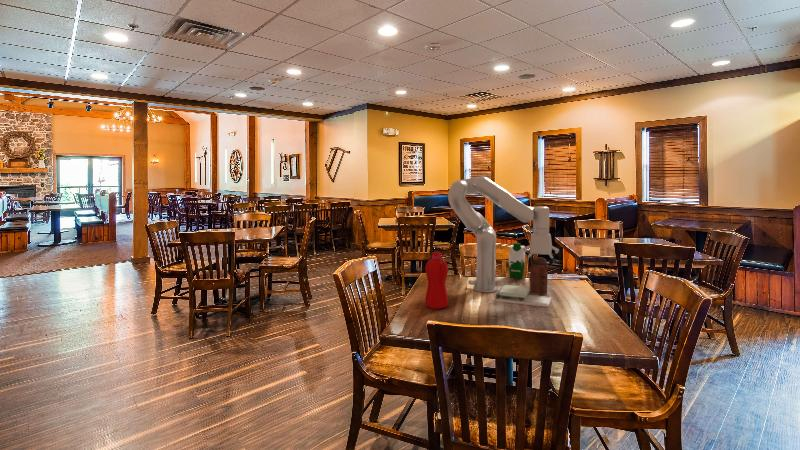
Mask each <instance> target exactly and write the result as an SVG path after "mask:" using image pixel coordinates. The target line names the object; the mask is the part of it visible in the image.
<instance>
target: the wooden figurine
mask: <svg viewBox="0 0 800 450" xmlns="http://www.w3.org/2000/svg"><path fill="white" fill-rule="evenodd" d="M547 270H548V261H547V259H546V258H544V257H543V256H542V257H540V256H539V257H535V258H534V259H532V265H530V271H529V272H530V274H529V287H530V292H533V293H535V294H537V295H538V296H547V293H548V280H549V279H548V276H549V274H548V271H547Z"/></svg>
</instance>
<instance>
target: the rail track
mask: <svg viewBox="0 0 800 450" xmlns="http://www.w3.org/2000/svg"><path fill="white" fill-rule="evenodd" d="M502 288H503V287H501V288H499V289H498V290H497V291H496V293H495V299H494V300H495V302H499V303H500V302H502V303H511V304H519V305H527V306H528V305H529V306H537V307H544V308H549V306H550V303H551V301H552V296H546V295H535V294H533V295H532V294H528V295H527V296H526V298H525V299H524V300H519V299H518V297H512V296H507V298H505V299H503V298H502V297H501V295H499V292H500V291H501V289H502Z"/></svg>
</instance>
